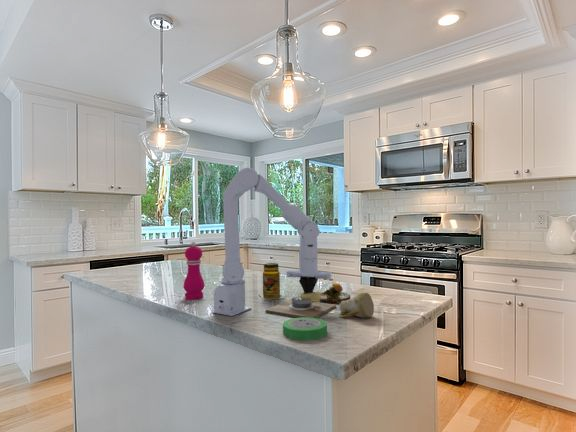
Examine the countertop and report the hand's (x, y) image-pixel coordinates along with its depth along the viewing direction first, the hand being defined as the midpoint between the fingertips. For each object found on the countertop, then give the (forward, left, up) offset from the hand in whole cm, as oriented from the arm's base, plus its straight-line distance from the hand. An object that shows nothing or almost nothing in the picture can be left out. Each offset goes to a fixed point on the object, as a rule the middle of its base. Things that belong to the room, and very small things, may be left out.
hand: (308, 300), depth 118 cm
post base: (-5, 0, -2) cm, 5 cm away
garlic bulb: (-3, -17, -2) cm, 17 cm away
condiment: (+5, +18, -2) cm, 19 cm away
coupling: (-4, -1, 0) cm, 4 cm away
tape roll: (-23, -11, -2) cm, 25 cm away
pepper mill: (-10, +41, -2) cm, 42 cm away
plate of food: (+12, -3, -2) cm, 13 cm away
